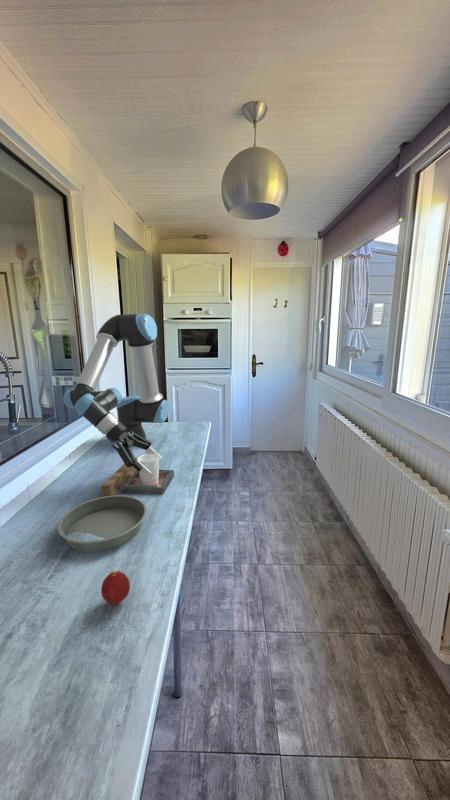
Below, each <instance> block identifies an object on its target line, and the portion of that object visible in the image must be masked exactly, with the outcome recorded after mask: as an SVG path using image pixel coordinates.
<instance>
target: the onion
mask: <svg viewBox="0 0 450 800" xmlns="http://www.w3.org/2000/svg"><path fill="white" fill-rule="evenodd" d="M130 589H131V583H130V580H129V577H128V576H127V575H126V574H125V573H124V572H123V571H118V570H112V571H111V572H110V573H109V574H107V576H106V577H105V578H104V579H103V581H102V585H101V589H100V591H101V596H102V599H103V600H104V601H105V602H106V603H107V604H112V605H113V604H115V605H118V604H120V603H121V602H123V601H124V600H125V599H126V598H127V597H128V595H129V592H130Z"/></svg>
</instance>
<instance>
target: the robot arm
mask: <svg viewBox="0 0 450 800" xmlns="http://www.w3.org/2000/svg"><path fill="white" fill-rule="evenodd" d="M157 337H158V327H157V324H156V322H155V320H154V318H153V317H152V316H151V315H149V314H147V313H146V314H143V313H130V314H129V313H128V314H126V313H125V314H116V315H113V316H112V317H110V318H109V319H107V320H106V321H105V322H104V324H103V325H101V327H100V328H99V329H98V331H97V333H96V336H95V338H96V342H95V344H94V346H93V348H92V350H91V352H90V354H89V357H88V358H87V361H86V363H85V365H84V367H83V369H82V371H81V374H80V375H79V378H78V379H77V382H76V384H75V386H74V389H68V390H67V391H65V392H64V394H63V403H64V405H65V406H66V407H67V408H69V409H70V408H71V409H76V411H77V412H78V413H79V414H80V415H81V416H83V418H84V419H85V420H87V422H89V423H90V424H91V425H92V426H93V427H94V428H96V429H97V430H98V431H99V432H100V433H101V434H102V435H105V438H106V439H107V440H109V442H111V443H113V444H112V447H113V448H114V449H115V450H116V452H117V454H118V455H119V457H120V458H121V460H122V462H123V464H124V463H125V465H126V466H127V467H131V466H133V467H134V468H135V469H136V470H137V471H138V472H140V473H141V474H142V475H143V476H144V477H145V478H147V477H148V476H149V475H150V474H151V472H150V471H149V470H148V469H147V468H146V467H145V466H144V465H143V464H142V463H141V462H139V461H138V460H137V461H136V459H135V458H136V457H135V455H134V452H133V450H132V446H133V447H136V448H139V449H141V450H145V453H146V454H156V455H158V456H159V462H160V461H161V460H162V459H163V457H162V456H161V455H160V454H159V453H158V452H157V451H156V450H155V449H153V448H152V447H151V446H152V443H151V441H150V440H147V434H146V432H145V430H144V427H143V425H142V423H150V424H151V423H152V424H162V423H164V422H166V420H167V419H168V416H169V412H170V404H169V403H170V402H169V401H168V400H166V399H164V396H163V394H162V393H160V390H159V384H158V383H159V382H158V378H157V372H156V367H155V360H154V354H153V348H152V347H153V345H154V343H155V340H156V339H157ZM121 341H125V342H126V341H127V345H128V347H129V348H131V349H132V353H133V357H134V363H135V368H136V375H137V378H138V384H139V385H138V386H139V389H140V394H141V395H140V396H139V395H129V396H126V397H125V396H122V392H121V391H120V390H118V389H117V388H116V387H110V388H107V389H105V390H96V389H97V387H98V384H99V382H100V379H101V377H102V375H103V374H104V373H103V372H104V370H105V368H106V366H107V364H108V361H109V358H110V356H111V354H112V352H113V350H114V348H116V347H117V346H118V345H119V343H120V342H121ZM115 408H116V413H117V417H116V416H115V415H114V414H113V413H112V412H110V411H112V410H114V409H115Z"/></svg>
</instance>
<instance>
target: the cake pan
mask: <svg viewBox="0 0 450 800" xmlns="http://www.w3.org/2000/svg"><path fill="white" fill-rule="evenodd" d="M147 514H148V508H147V506H146V504H145V503H144V502H143V501H142V500H141V499H139V498H136V497H133V496H130V495H120V494H116V495H113V496H105V497H102V496H100V497H97V498H92V499H89V500H87V501H85V502H81V503H80V504H77V505H76V506H74V507H73V508H71V509H70V510H68V511H67V512H65V514H64V515H63V516H62V517H61V518H60V520H59V521H58V523H57V524H58V525H57V532H58V534H59V536H61V538H63V539H64V540H65V541H66V543H67V544H68V546H69V547H70V548H71V549H74V550H76V551H78V552H79V551H80V552H84V553H86V552H87V553H96V552H103V551H109V550H111V549H115V548H118V547H120V546H122V545H125V544H126V543H128V542H130V541H131V540H133V539H134V538H135V537H136V536H137V535H138V533H140V532H141V529H142V527H143V522H144V520H145V518H146V517H147ZM75 533H81V534H86V535H87V534H88V535H93V536H96V537H98V538H101V539H95V540H79V539H74V538H71V537H69V536H68V535H71V534H75Z"/></svg>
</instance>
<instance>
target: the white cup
mask: <svg viewBox="0 0 450 800" xmlns="http://www.w3.org/2000/svg"><path fill="white" fill-rule="evenodd" d="M136 458H137V460H138V461H139V462H141V463H142V464H143V465H144V466H145V467H146V468H147V469H148V470H149V471H150V472H151V474H150V475H149V476H148V477H147V478H145V477H144V476H143V475H142V474H141V473H140V472H139V476H140V483H141V485H151V486H153V485H156V484H157V483H158V482H159V470H160V461H159V456H158V455H156V454H147V453H146V454H141V455H139V456H137V457H136Z"/></svg>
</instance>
